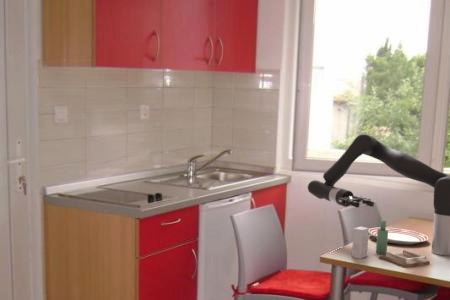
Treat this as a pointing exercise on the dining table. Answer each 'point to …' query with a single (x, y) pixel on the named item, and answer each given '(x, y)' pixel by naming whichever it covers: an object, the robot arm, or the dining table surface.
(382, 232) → the green bottle
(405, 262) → the bottle holder
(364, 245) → the skincare box
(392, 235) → the dinner plate
